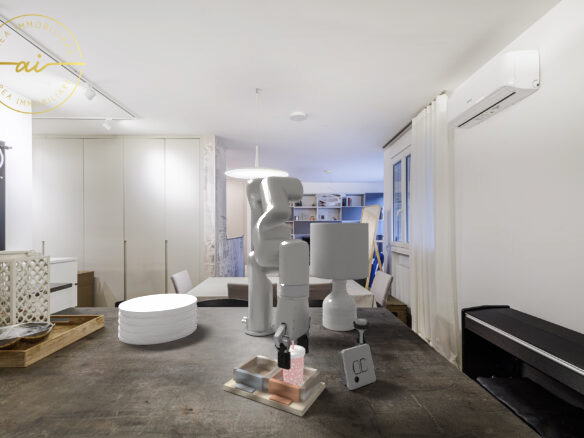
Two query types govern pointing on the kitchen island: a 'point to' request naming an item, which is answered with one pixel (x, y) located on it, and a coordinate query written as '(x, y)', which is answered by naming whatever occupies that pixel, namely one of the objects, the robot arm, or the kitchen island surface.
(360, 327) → the push button
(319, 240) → the lamp
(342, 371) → the electrical switch
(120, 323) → the plate stack
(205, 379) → the kitchen island surface
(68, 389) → the kitchen island surface
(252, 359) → the socket board
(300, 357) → the beverage cup
